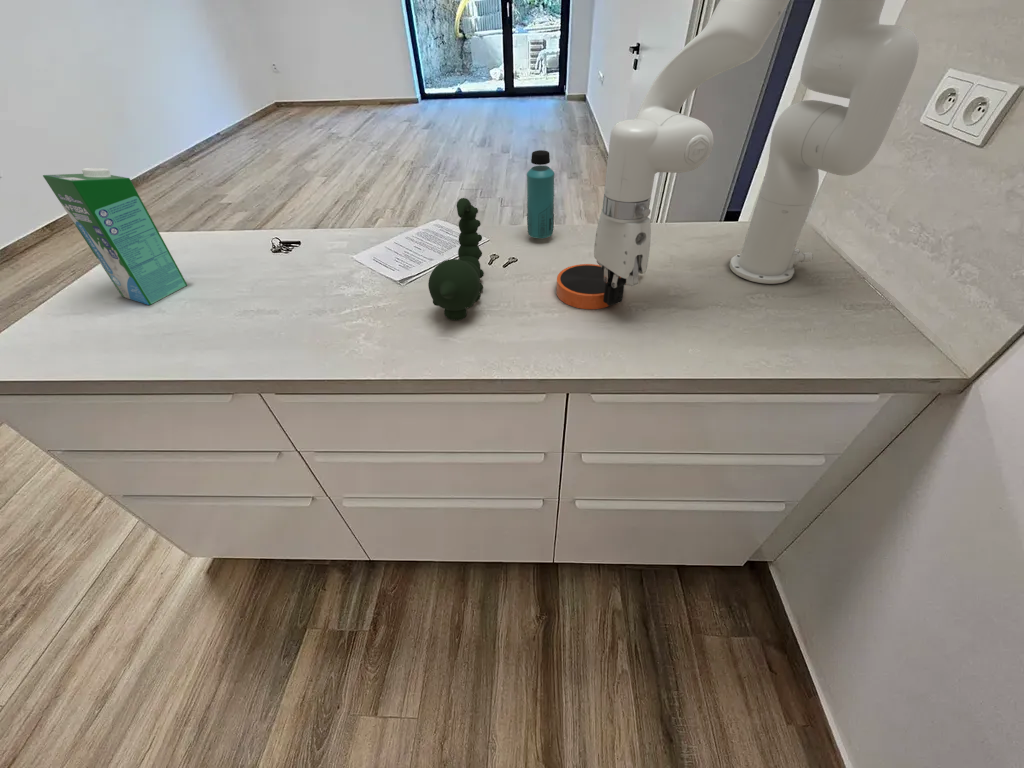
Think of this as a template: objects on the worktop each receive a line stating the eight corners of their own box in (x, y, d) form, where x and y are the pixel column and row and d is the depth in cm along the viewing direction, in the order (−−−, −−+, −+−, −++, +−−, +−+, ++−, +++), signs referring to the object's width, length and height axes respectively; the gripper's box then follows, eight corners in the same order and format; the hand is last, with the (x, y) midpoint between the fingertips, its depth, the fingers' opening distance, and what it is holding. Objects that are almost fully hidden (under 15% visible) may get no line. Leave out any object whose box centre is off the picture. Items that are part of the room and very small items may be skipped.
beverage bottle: (551, 245, 114) (554, 156, 100) (524, 243, 115) (523, 155, 101) (555, 234, 118) (558, 147, 105) (529, 232, 119) (528, 147, 106)
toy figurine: (453, 279, 106) (422, 335, 86) (445, 190, 95) (407, 231, 75) (495, 281, 105) (473, 338, 85) (491, 191, 93) (465, 233, 73)
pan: (578, 316, 90) (579, 302, 88) (544, 286, 99) (545, 272, 97) (661, 289, 97) (664, 276, 95) (623, 264, 106) (625, 251, 104)
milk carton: (188, 285, 104) (123, 164, 87) (149, 305, 98) (71, 180, 81) (161, 277, 107) (93, 160, 90) (121, 297, 101) (41, 174, 84)
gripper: (674, 216, 74) (654, 315, 86) (616, 188, 84) (604, 280, 96) (637, 226, 72) (621, 327, 84) (581, 196, 82) (574, 289, 94)
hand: (612, 301), depth 90 cm, fingers closed
